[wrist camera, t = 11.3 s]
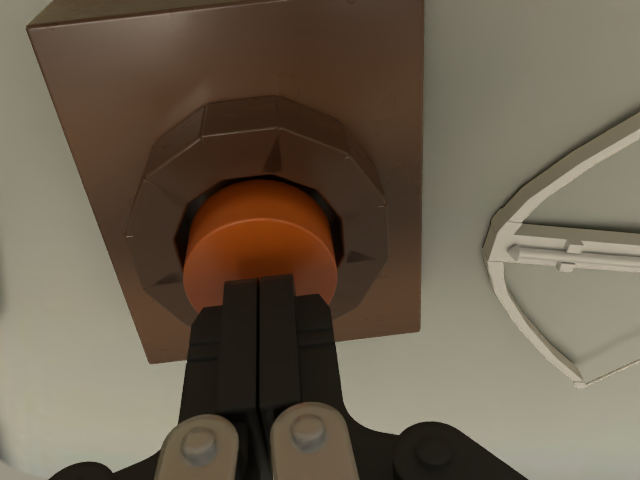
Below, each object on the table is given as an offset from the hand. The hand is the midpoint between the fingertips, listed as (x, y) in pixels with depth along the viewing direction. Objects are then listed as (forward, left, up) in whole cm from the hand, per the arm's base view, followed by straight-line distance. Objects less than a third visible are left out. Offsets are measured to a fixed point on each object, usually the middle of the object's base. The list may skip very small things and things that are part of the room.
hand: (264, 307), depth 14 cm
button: (0, 0, -3) cm, 3 cm away
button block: (0, 0, -6) cm, 6 cm away
